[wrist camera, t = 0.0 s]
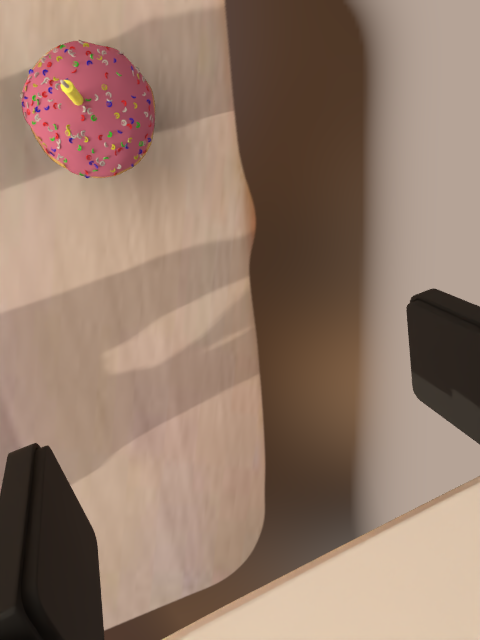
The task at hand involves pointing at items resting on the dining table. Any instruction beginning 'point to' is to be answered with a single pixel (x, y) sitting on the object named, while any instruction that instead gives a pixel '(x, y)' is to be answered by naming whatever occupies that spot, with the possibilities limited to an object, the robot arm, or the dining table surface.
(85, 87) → the cupcake
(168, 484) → the dining table surface
